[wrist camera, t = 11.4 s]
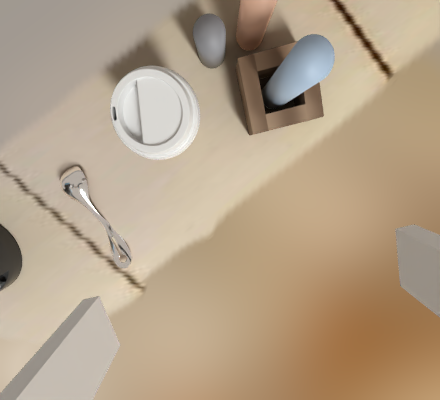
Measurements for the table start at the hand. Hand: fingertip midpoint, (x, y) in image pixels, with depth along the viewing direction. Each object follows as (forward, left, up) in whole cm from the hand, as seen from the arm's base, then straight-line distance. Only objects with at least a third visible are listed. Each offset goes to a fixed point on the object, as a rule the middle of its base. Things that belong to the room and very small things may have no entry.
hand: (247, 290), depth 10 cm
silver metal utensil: (-24, -1, -31) cm, 39 cm away
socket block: (+10, +12, -30) cm, 34 cm away
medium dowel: (+8, +21, -30) cm, 38 cm away
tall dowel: (+10, +11, -30) cm, 34 cm away
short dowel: (+2, +20, -30) cm, 36 cm away
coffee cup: (-6, +11, -31) cm, 33 cm away
